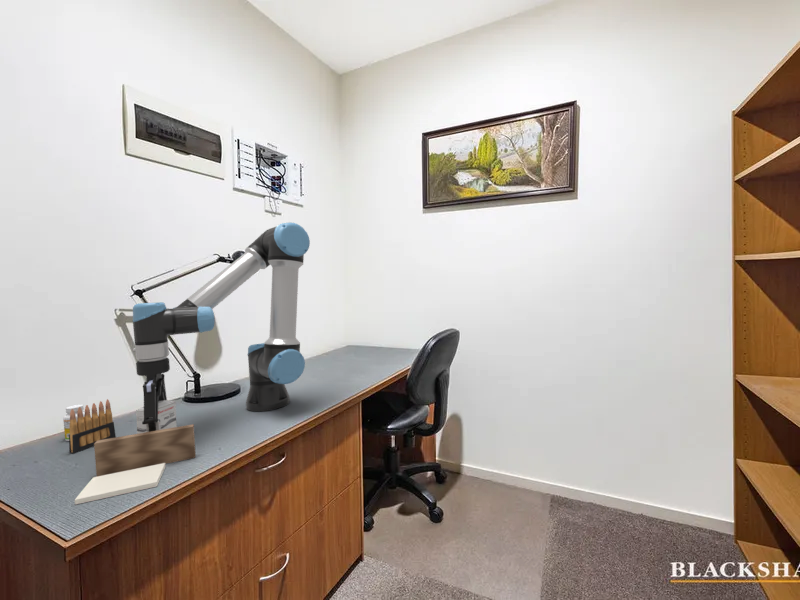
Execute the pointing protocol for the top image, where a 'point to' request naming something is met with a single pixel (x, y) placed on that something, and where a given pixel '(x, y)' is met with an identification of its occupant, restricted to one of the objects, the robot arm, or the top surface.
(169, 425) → the ink box
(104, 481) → the pad
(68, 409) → the supplement bottle
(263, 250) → the robot arm
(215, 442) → the top surface
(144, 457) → the walnut screen
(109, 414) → the ammunition clip
